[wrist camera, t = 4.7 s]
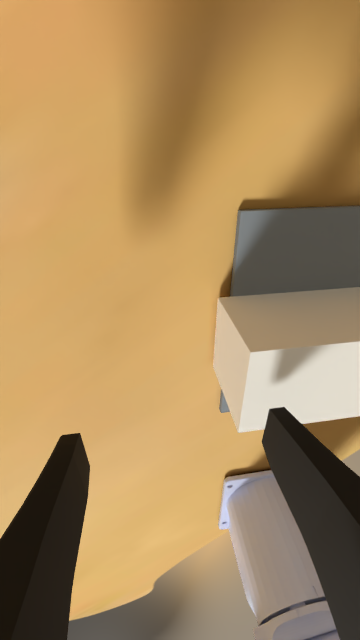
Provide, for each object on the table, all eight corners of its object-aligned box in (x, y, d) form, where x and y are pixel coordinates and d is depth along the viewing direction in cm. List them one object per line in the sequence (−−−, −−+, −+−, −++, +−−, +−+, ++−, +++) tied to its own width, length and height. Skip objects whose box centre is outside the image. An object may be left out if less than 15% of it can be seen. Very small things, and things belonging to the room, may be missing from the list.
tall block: (213, 367, 18) (353, 351, 19) (238, 432, 14) (417, 408, 15) (217, 297, 15) (380, 285, 17) (250, 352, 11) (465, 330, 12)
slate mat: (365, 390, 22) (368, 394, 22) (219, 408, 21) (220, 412, 20) (452, 202, 15) (459, 203, 15) (238, 209, 13) (240, 211, 13)
